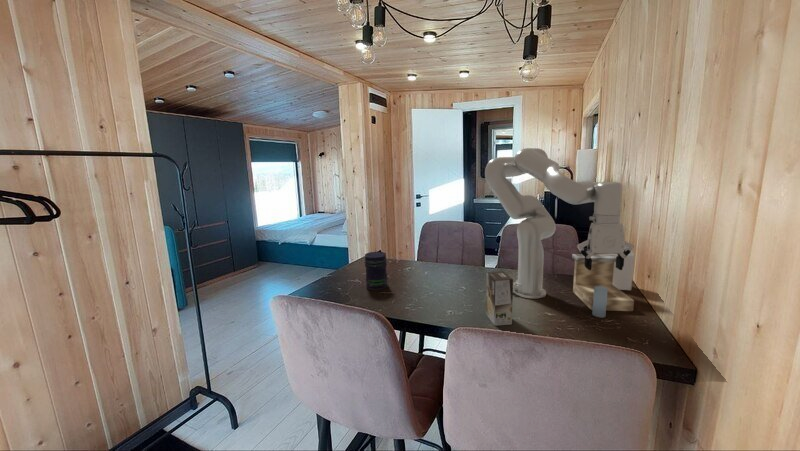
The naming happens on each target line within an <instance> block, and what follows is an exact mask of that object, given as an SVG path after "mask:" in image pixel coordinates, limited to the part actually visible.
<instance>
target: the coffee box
mask: <svg viewBox="0 0 800 451" xmlns="http://www.w3.org/2000/svg"><path fill="white" fill-rule="evenodd" d="M513 283H514V279H513V278H512V277H511V276H510V275H508V273H506V272H505V271H502V270H501V271H500V270H499V271H497V270H496V271H488V272H487V271H486V295H485V296H486V303H485V304H486V306H485V307H486V310H485V311H486V312H485V313H486V316H487V318H488V319H489V320H490V321H491V323H492V324H493V326H497V327H498V326H510V325H512V324H513V301H514V300H513V298H514V297H513V296H514V289H513Z"/></svg>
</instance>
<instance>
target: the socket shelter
mask: <svg viewBox="0 0 800 451" xmlns="http://www.w3.org/2000/svg"><path fill="white" fill-rule="evenodd" d="M616 257H617V255H615V254H595V253H594V254H593V255H592V256H591V259H592V268H591V270H588V269H587V268H586V267H585V265H584V264H585V257H584V256H583V255H582V254H581V253H572V254H571V258H572V259H573V260H574V266H573V267H574V268H573V269H574V271H573V284H572V285H573V287H572V292H573V293H574V294H575V296H577V297H578V298H579V299H580V300H581V301H582V303H583V304H585V305H586V307H587V308H589V309H590V310H591V311H593V297H594V287H595V286H603V287H606V288H608V292H607V304H606V311H607V312H609V311H612V312H613V311H614V312H615V311H616V312H634V307H635V306H634V305H635V300H634V299H633V298H631V297H630V296H628V295H627V294H625V292H623V290H619V289H618V288H616V287H615V286H614V285H612V284H613V272H614V262H616Z"/></svg>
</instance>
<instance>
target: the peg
mask: <svg viewBox="0 0 800 451" xmlns="http://www.w3.org/2000/svg"><path fill="white" fill-rule="evenodd" d="M607 292H608V288H606V287H603V286H595V287H594V297H593V310H591V312H592V313H591V315H592V316H594V317H595V318H596V317H597V318H599V319H600V318H606V313H607V310H606V304H607Z"/></svg>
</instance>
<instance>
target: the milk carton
mask: <svg viewBox="0 0 800 451" xmlns="http://www.w3.org/2000/svg"><path fill="white" fill-rule="evenodd" d="M626 247H627V246H625V248H624V250H625V249H626ZM615 255H617V254H615ZM617 256H618V255H617ZM634 264H635V253H634V250H633V249H632V250H631V251H630V254H628V255H627V256H626V258H625V259H624V266H623V268H622V270H619V269H618V268H616V262H614V272H613V284H612V285H614V286H615V287H616V288H618V289H619V290H620V291H632V285H633V284H632V283H633V276H634V275H633V274H634Z"/></svg>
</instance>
